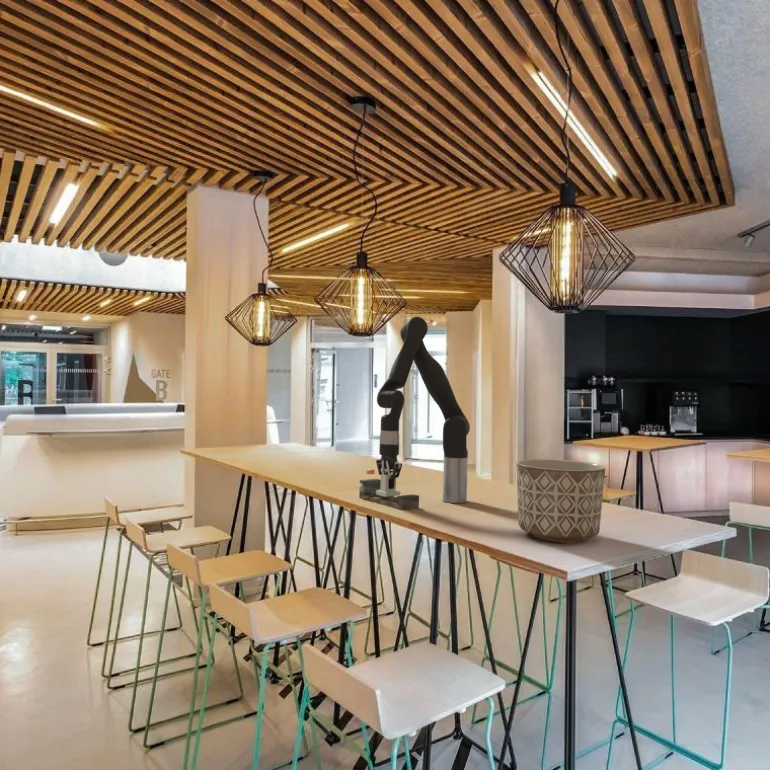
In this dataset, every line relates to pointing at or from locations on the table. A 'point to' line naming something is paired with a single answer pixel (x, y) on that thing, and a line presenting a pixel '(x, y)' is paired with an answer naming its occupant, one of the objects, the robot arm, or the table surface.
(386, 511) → the table surface
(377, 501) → the rail
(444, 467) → the robot arm
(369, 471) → the gauge button
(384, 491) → the carriage
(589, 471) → the planter
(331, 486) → the table surface
